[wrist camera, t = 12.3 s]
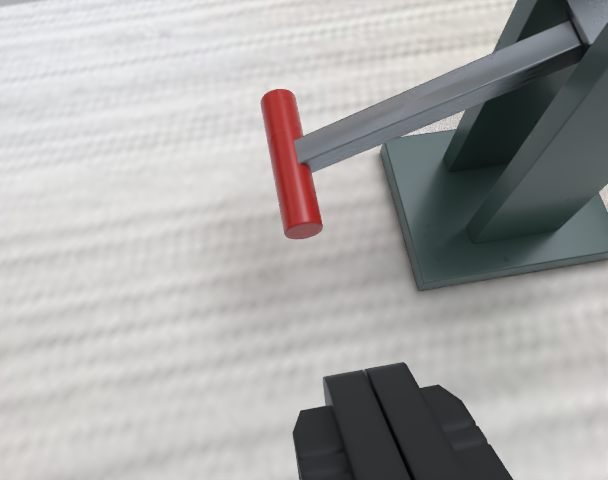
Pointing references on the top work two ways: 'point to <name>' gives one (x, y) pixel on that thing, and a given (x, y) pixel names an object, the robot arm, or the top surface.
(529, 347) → the top surface
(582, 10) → the lever
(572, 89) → the bracket
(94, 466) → the top surface
